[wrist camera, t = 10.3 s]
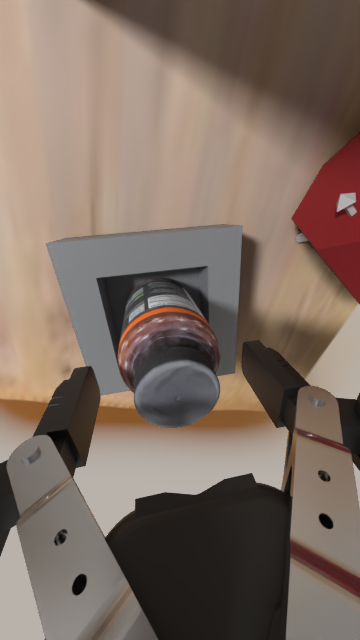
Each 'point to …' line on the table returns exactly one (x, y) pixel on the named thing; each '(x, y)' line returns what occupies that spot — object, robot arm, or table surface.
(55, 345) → the table surface
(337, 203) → the alarm clock
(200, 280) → the socket holder
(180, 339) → the supplement bottle
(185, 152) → the table surface
